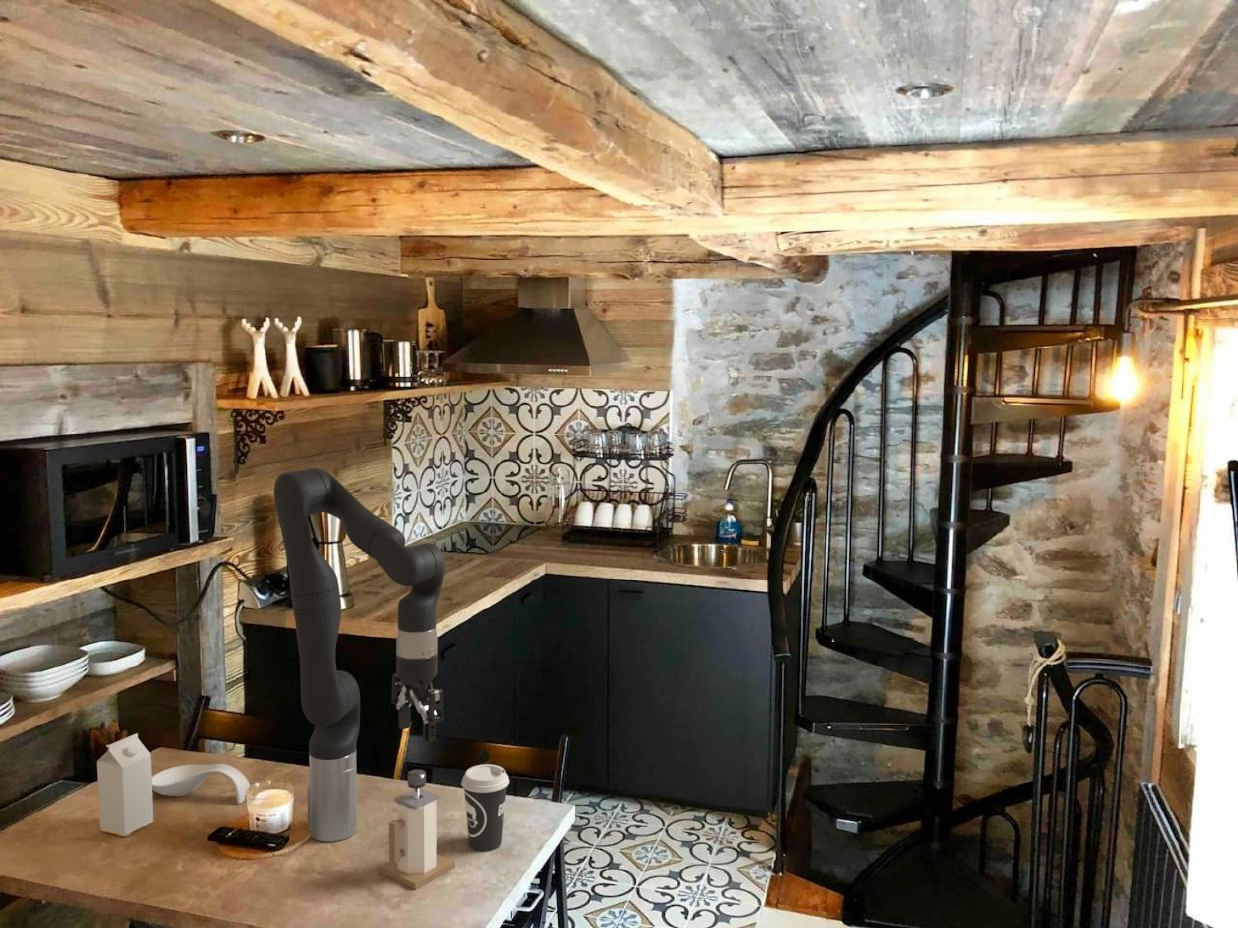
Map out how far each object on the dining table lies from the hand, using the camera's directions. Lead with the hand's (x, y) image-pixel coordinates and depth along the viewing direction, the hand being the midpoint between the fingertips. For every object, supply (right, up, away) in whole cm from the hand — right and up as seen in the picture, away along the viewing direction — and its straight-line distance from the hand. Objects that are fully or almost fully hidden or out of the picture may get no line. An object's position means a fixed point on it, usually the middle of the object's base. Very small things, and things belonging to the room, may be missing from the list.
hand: (416, 734), depth 186 cm
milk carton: (-64, -24, +18) cm, 71 cm away
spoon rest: (-55, -23, +34) cm, 69 cm away
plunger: (0, -21, +2) cm, 21 cm away
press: (-1, -27, +3) cm, 27 cm away
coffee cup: (+11, -26, +14) cm, 31 cm away
